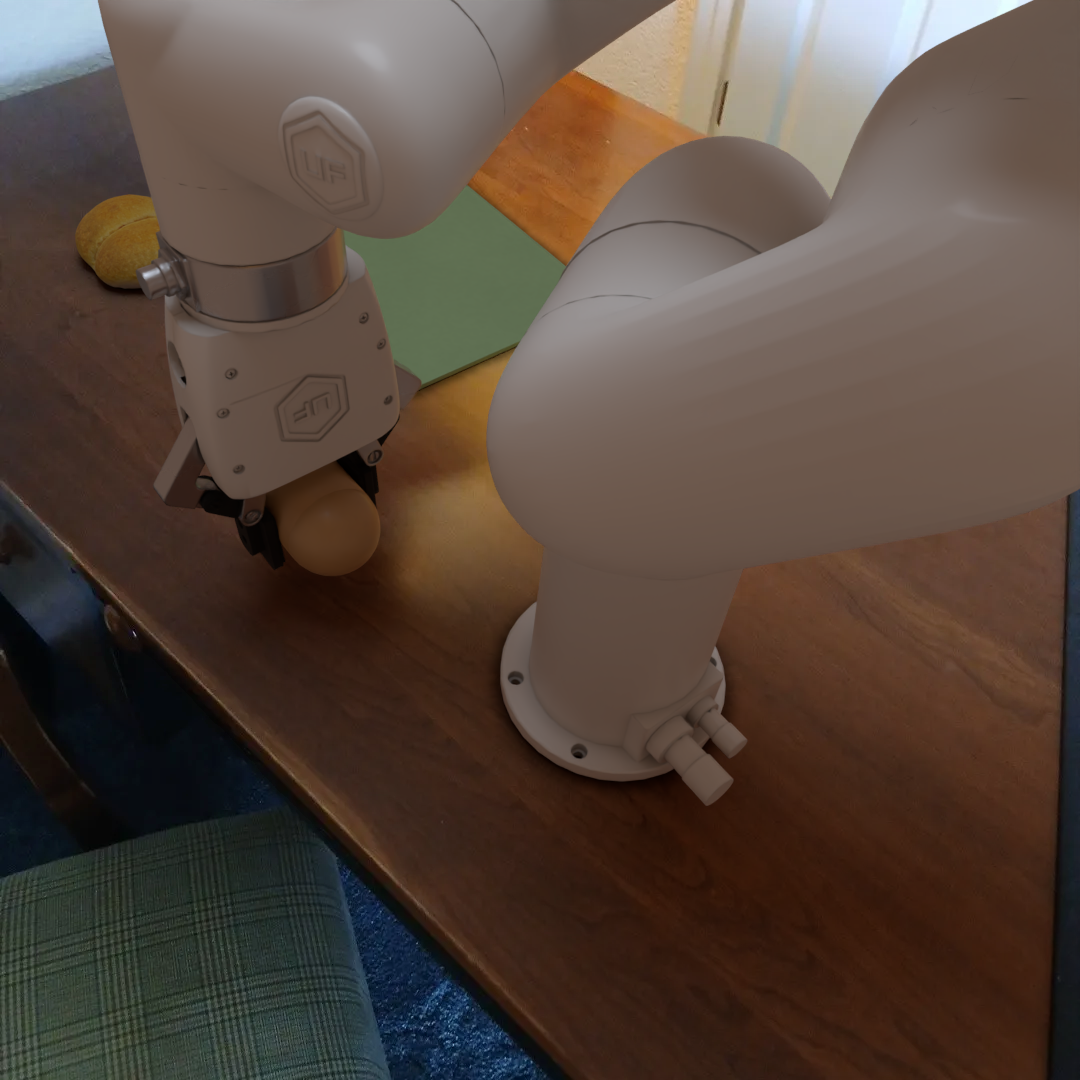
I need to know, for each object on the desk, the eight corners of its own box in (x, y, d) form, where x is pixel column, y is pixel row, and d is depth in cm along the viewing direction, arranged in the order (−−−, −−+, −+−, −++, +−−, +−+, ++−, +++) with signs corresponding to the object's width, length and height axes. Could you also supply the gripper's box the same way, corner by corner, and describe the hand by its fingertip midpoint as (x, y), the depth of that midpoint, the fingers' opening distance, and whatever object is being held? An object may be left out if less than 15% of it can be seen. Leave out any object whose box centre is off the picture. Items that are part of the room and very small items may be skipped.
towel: (608, 305, 81) (609, 301, 81) (413, 392, 73) (413, 388, 73) (445, 171, 91) (445, 166, 91) (258, 234, 83) (258, 230, 83)
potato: (402, 566, 58) (395, 502, 54) (320, 611, 56) (307, 548, 52) (309, 461, 63) (296, 396, 59) (230, 498, 61) (212, 433, 57)
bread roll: (121, 308, 76) (107, 262, 73) (66, 247, 80) (51, 201, 77) (222, 269, 80) (214, 223, 77) (165, 213, 84) (155, 167, 81)
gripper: (105, 374, 40) (205, 646, 54) (469, 228, 47) (475, 501, 61) (31, 279, 44) (142, 556, 58) (379, 157, 51) (404, 429, 65)
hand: (313, 525), depth 59 cm, fingers closed on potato, 5 cm apart
